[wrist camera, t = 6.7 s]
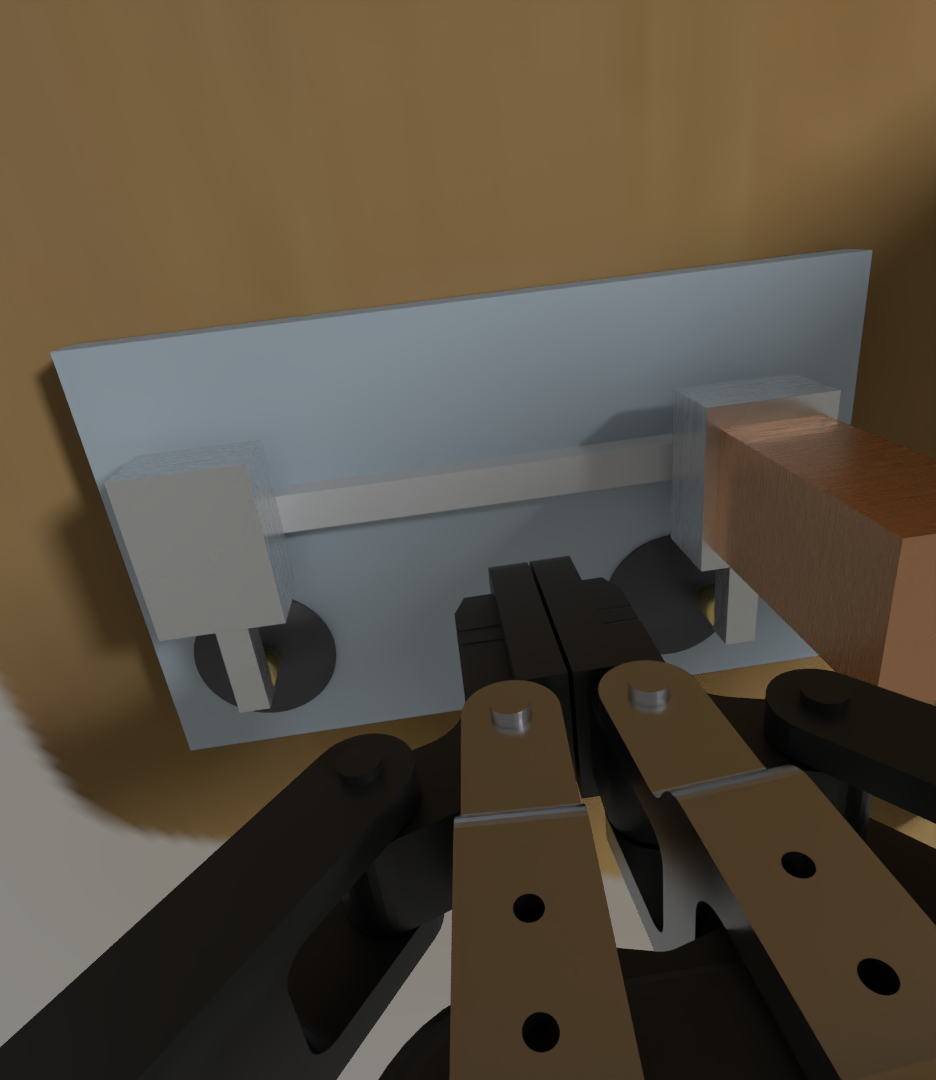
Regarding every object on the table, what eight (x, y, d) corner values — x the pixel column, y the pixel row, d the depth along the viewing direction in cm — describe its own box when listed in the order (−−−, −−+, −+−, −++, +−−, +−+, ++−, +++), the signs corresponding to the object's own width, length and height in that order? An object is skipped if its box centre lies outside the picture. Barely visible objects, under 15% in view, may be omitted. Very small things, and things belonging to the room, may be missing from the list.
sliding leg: (776, 367, 18) (1095, 479, 10) (758, 603, 20) (991, 840, 12) (661, 382, 17) (887, 508, 9) (659, 618, 20) (831, 867, 12)
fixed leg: (264, 433, 17) (245, 464, 15) (320, 665, 20) (310, 721, 18) (143, 449, 17) (104, 483, 15) (215, 681, 20) (193, 738, 18)
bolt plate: (843, 249, 18) (894, 250, 16) (801, 635, 23) (836, 669, 21) (71, 344, 17) (33, 358, 15) (200, 725, 22) (183, 768, 20)
